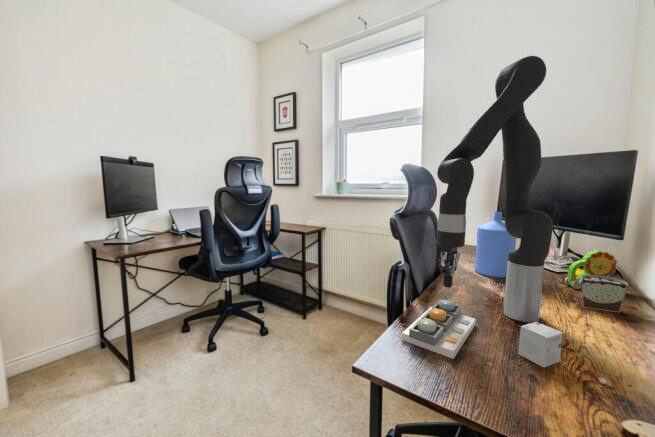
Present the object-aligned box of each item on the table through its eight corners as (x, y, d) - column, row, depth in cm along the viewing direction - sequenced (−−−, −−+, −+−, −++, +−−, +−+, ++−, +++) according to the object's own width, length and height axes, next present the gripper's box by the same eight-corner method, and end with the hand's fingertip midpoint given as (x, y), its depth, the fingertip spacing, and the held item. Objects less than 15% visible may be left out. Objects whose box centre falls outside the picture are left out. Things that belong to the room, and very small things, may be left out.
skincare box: (544, 368, 65) (547, 338, 64) (517, 354, 71) (520, 325, 70) (560, 362, 68) (563, 332, 67) (533, 348, 73) (535, 320, 72)
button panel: (475, 324, 85) (476, 310, 85) (452, 360, 68) (453, 343, 67) (431, 311, 93) (432, 299, 93) (400, 341, 76) (401, 326, 76)
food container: (616, 305, 98) (620, 277, 97) (626, 313, 92) (630, 283, 91) (570, 299, 103) (574, 272, 102) (577, 306, 97) (580, 277, 96)
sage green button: (438, 329, 75) (438, 322, 75) (432, 336, 72) (432, 329, 71) (421, 324, 78) (422, 317, 78) (415, 330, 74) (415, 323, 74)
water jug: (521, 278, 125) (527, 214, 121) (485, 278, 125) (489, 214, 122) (500, 267, 140) (505, 210, 137) (468, 267, 141) (471, 210, 137)
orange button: (448, 318, 81) (448, 311, 81) (442, 324, 78) (443, 317, 77) (432, 313, 84) (432, 307, 84) (426, 319, 81) (427, 312, 80)
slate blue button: (456, 308, 87) (456, 302, 87) (452, 313, 84) (452, 307, 84) (441, 304, 90) (441, 298, 90) (436, 309, 87) (437, 303, 86)
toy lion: (572, 289, 112) (577, 251, 110) (563, 284, 118) (567, 248, 116) (617, 291, 111) (622, 252, 109) (605, 286, 116) (610, 249, 114)
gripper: (458, 233, 76) (454, 296, 79) (471, 227, 86) (467, 283, 89) (430, 230, 81) (427, 290, 83) (445, 225, 91) (442, 278, 93)
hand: (447, 286), depth 86 cm, fingers closed
